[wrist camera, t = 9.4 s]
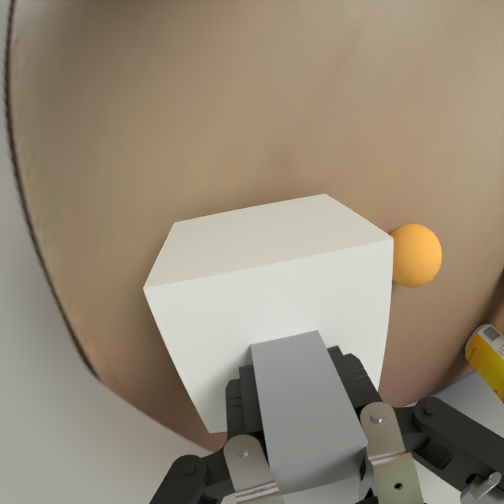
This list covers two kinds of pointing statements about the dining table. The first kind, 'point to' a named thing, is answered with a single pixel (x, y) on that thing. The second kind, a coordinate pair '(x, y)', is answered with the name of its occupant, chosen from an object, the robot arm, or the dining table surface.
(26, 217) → the dining table surface
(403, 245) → the ball
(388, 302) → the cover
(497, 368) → the yellow white cylinder
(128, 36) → the dining table surface
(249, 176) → the dining table surface
